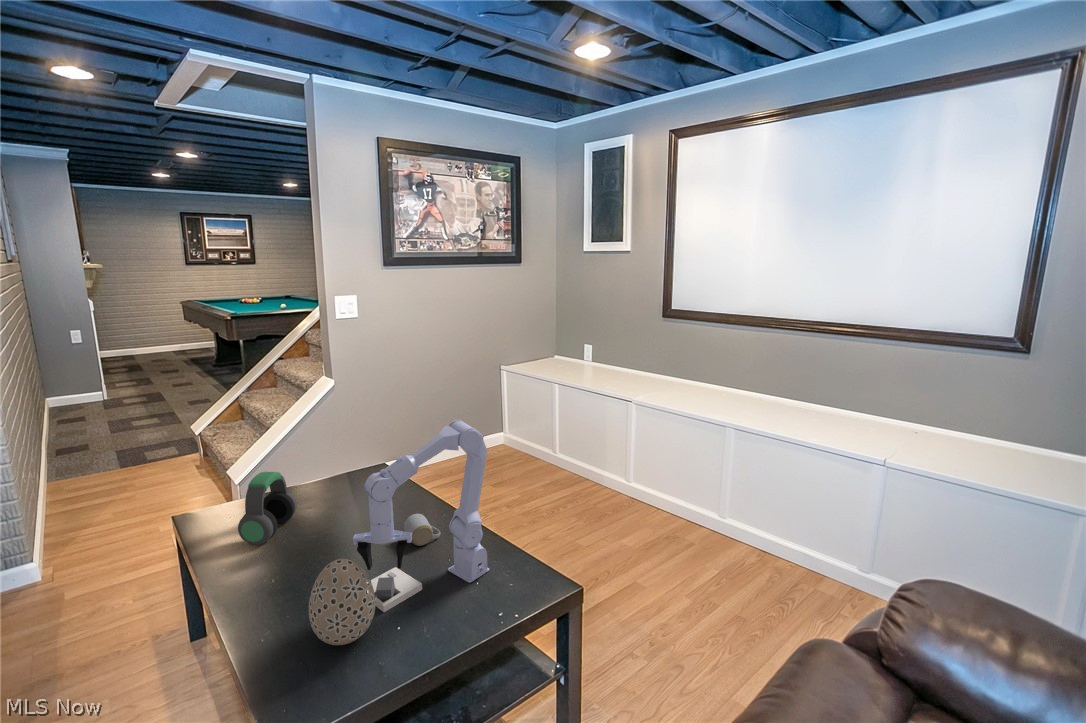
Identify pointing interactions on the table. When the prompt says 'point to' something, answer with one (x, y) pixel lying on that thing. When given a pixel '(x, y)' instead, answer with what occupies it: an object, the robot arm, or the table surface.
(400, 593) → the socket
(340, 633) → the ornament
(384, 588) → the plug
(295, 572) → the table surface
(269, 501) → the headphones
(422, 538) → the ceramic mug
